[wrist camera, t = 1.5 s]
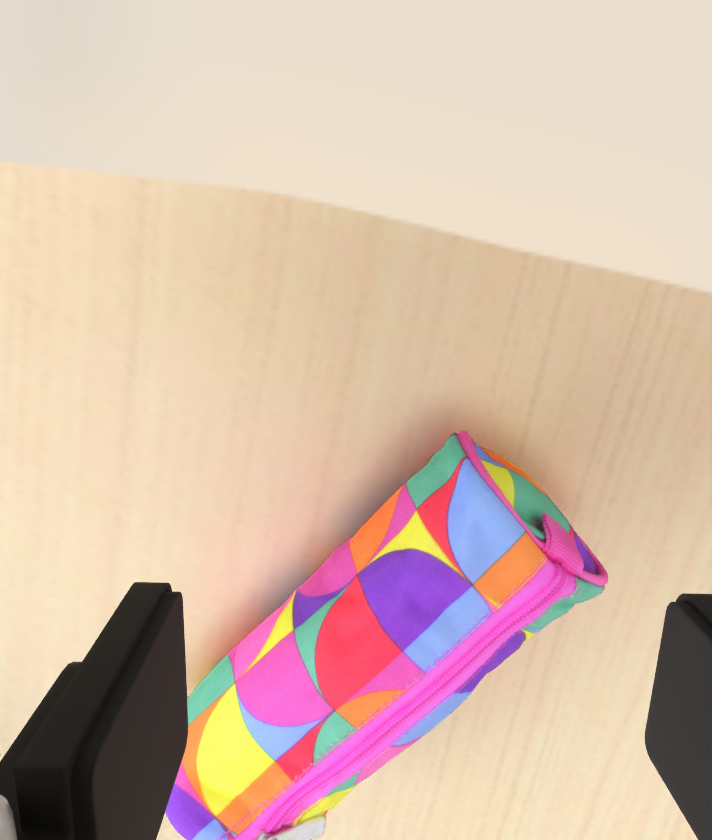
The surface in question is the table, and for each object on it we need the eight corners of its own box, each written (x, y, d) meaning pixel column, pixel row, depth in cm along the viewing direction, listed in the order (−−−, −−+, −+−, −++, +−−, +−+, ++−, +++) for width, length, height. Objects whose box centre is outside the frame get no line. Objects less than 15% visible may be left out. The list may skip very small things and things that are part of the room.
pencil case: (302, 785, 36) (288, 958, 27) (167, 693, 34) (104, 846, 25) (580, 511, 32) (668, 610, 23) (441, 391, 30) (479, 449, 21)
